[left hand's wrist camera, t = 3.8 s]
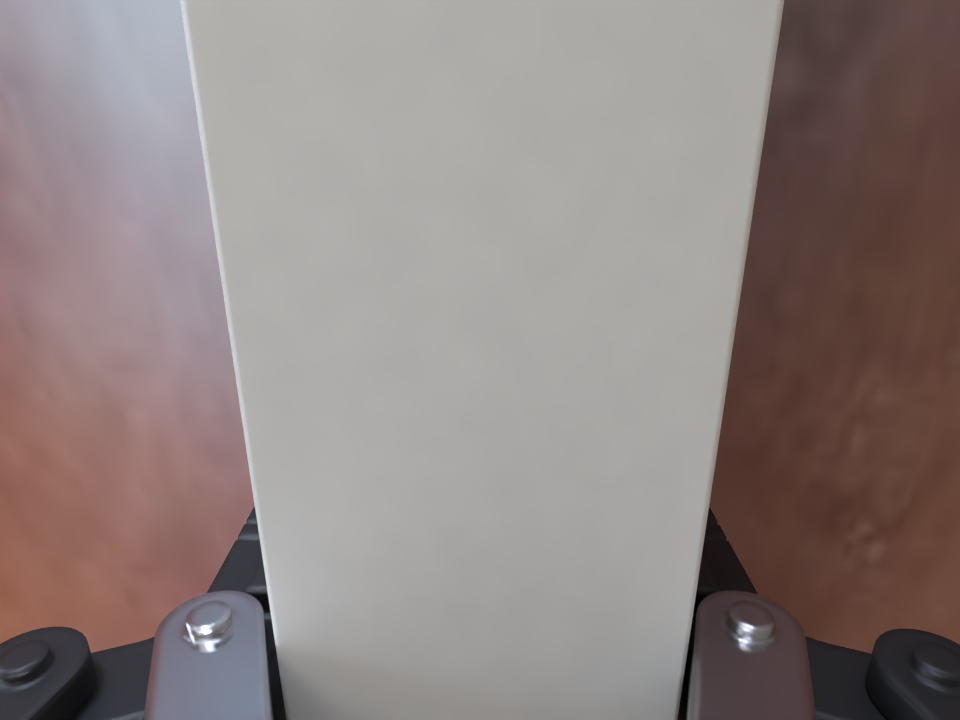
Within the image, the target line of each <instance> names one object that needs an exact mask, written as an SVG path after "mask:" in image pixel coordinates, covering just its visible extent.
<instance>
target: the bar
mask: <svg viewBox="0 0 960 720" xmlns="http://www.w3.org/2000/svg"><path fill="white" fill-rule="evenodd" d="M180 3H181V10H182V17H183V23H184V30H185V37H186V44H187V50H188V57H189V64H190V71H191V77H192V84H193V91H194V98H195V104H196V111H197V118H198V125H199V132H200V138H201V145H202V152H203V159H204V165H205V172H206V179H207V186H208V192H209V199H210V206H211V213H212V219H213V226H214V233H215V240H216V247H217V253H218V260H219V267H220V274H221V280H222V287H223V294H224V301H225V307H226V314H227V321H228V328H229V334H230V341H231V348H232V355H233V362H234V368H235V375H236V382H237V389H238V395H239V402H240V409H241V416H242V422H243V429H244V436H245V443H246V450H247V456H248V463H249V470H250V477H251V483H252V490H253V497H254V504H255V510H256V517H257V524H258V531H259V537H260V544H261V551H262V558H263V565H264V571H265V578H266V585H267V592H268V598H269V605H270V612H271V619H272V625H273V632H274V639H275V646H276V652H277V659H278V666H279V673H280V680H281V686H282V693H283V700H284V707H285V713H286V720H677V719H678V712H679V705H680V699H681V692H682V685H683V678H684V672H685V665H686V658H687V652H688V645H689V638H690V631H691V625H692V618H693V611H694V605H695V598H696V591H697V584H698V578H699V571H700V564H701V557H702V551H703V544H704V537H705V531H706V524H707V517H708V510H709V504H710V497H711V490H712V484H713V477H714V470H715V463H716V457H717V450H718V443H719V437H720V430H721V423H722V416H723V410H724V403H725V396H726V389H727V383H728V376H729V369H730V363H731V356H732V349H733V342H734V336H735V329H736V322H737V316H738V309H739V302H740V295H741V289H742V282H743V275H744V268H745V262H746V255H747V248H748V242H749V235H750V228H751V221H752V215H753V208H754V201H755V195H756V188H757V181H758V174H759V168H760V161H761V154H762V148H763V141H764V134H765V127H766V121H767V114H768V107H769V100H770V94H771V87H772V80H773V74H774V67H775V60H776V53H777V47H778V40H779V33H780V27H781V20H782V13H783V6H784V0H180Z"/></svg>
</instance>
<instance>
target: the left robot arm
mask: <svg viewBox="0 0 960 720" xmlns="http://www.w3.org/2000/svg"><path fill="white" fill-rule="evenodd" d="M0 720H286V713H285V707H284V700H283V693H282V686H281V680H280V673H279V666H278V659H277V652H276V646H275V639H274V632H273V625H272V619H271V612H270V605H269V598H268V592H267V585H266V578H265V571H264V565H263V558H262V551H261V544H260V537H259V531H258V524H257V517H256V510H255V506H254V508H253V510H252V512H251V514H250V516H249V517H248V519H247V524H245V525H244V526H243V528H242V530H241V532H240V534H239V536H238V540H236V541H235V543H234V545H233V546H232V548H231V550H230V552H229V554H228V556H227V557H226V559H225V561H224V563H223V565H222V567H221V568H220V570H219V572H218V574H217V576H216V577H215V579H214V581H213V583H212V585H211V587H210V588H209V590H208V592H207V593H206V594H203V595H200V596H197V597H195V598H192V599H190V600H188V601H186V602H184V603H183V604H181V605H180V606H178V607H177V608H175V609H174V610H173V611H172V612H170V613H169V614H168V615H167V616H166V617H165V618H164V620H163V621H162V622H161V624H160V625H159V627H158V629H157V631H156V634H155V637H153V638H150V639H147V640H144V641H140V642H137V643H132V644H128V645H124V646H120V647H116V648H111V649H107V650H103V651H99V652H94V653H91V652H90V648H89V645H88V642H87V639H86V637H85V636H84V635H83V634H82V633H81V632H79V631H77V630H75V629H72V628H67V627H48V628H41V629H37V630H33V631H29V632H26V633H23V634H21V635H18V636H16V637H13V638H11V639H9V640H7V641H5V642H3V643H1V644H0ZM677 720H960V645H959V644H957V643H955V642H953V641H951V640H949V639H946V638H944V637H942V636H939V635H936V634H933V633H930V632H925V631H921V630H914V629H895V630H891V631H888V632H885V633H883V634H882V635H880V636H879V637H878V639H877V640H876V642H875V645H874V648H873V652H872V654H870V653H866V652H861V651H857V650H853V649H849V648H845V647H840V646H836V645H832V644H828V643H824V642H821V641H817V640H815V639H812V638H809V637H807V636H805V634H804V631H803V629H802V627H801V625H800V624H799V622H798V621H797V620H796V618H795V617H794V616H793V615H792V614H791V613H790V612H788V611H787V610H786V609H785V608H783V607H782V606H780V605H779V604H777V603H776V602H774V601H772V600H770V599H768V598H765V597H763V596H760V595H758V593H757V592H756V590H755V588H754V586H753V584H752V583H751V581H750V579H749V577H748V575H747V574H746V572H745V570H744V568H743V566H742V565H741V563H740V561H739V559H738V558H737V556H736V554H735V552H734V550H733V549H732V547H731V545H730V543H729V541H726V536H725V534H724V532H723V531H722V529H721V527H720V525H718V524H717V520H716V518H715V516H714V514H713V513H712V511H711V509H710V507H709V510H708V517H707V524H706V531H705V537H704V544H703V551H702V557H701V564H700V571H699V578H698V584H697V591H696V598H695V605H694V611H693V618H692V625H691V631H690V638H689V645H688V652H687V658H686V665H685V672H684V678H683V685H682V692H681V699H680V705H679V712H678V719H677Z"/></svg>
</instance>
